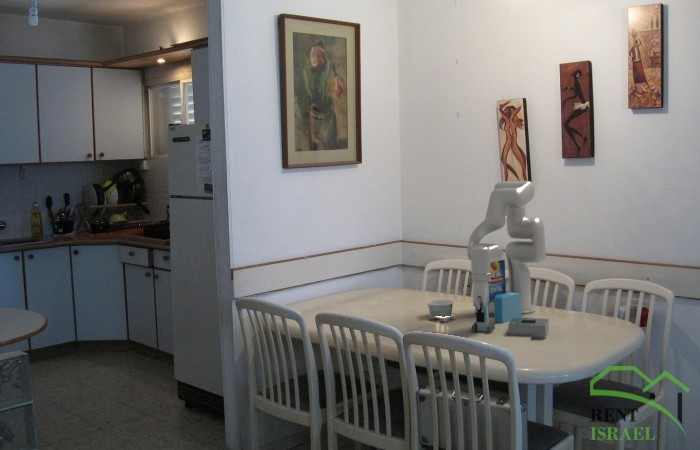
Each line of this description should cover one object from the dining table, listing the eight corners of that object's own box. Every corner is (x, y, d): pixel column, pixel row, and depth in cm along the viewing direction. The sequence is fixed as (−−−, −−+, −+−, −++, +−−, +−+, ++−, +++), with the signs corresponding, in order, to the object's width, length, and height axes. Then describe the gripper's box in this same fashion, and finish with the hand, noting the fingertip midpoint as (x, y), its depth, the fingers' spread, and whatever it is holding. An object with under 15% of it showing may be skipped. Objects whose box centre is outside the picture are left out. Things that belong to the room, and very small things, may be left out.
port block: (513, 329, 295) (512, 316, 295) (548, 331, 290) (548, 317, 290) (508, 337, 284) (508, 323, 284) (545, 338, 279) (545, 324, 278)
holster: (475, 329, 300) (475, 320, 299) (495, 329, 297) (495, 321, 296) (471, 335, 290) (470, 326, 290) (491, 335, 288) (490, 327, 287)
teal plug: (479, 328, 296) (478, 302, 295) (489, 329, 295) (488, 302, 294) (477, 331, 292) (476, 304, 291) (487, 331, 291) (486, 304, 290)
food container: (423, 318, 324) (422, 304, 323) (433, 312, 334) (432, 298, 334) (448, 320, 318) (448, 305, 318) (458, 314, 329) (457, 300, 328)
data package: (513, 319, 314) (512, 291, 313) (521, 320, 310) (521, 292, 309) (494, 324, 307) (493, 295, 306) (502, 325, 303) (501, 297, 302)
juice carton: (486, 317, 320) (484, 263, 318) (475, 314, 326) (473, 261, 324) (506, 312, 326) (504, 259, 324) (495, 310, 333) (493, 258, 330)
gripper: (476, 273, 301) (477, 314, 302) (467, 281, 285) (469, 324, 286) (494, 273, 298) (495, 314, 300) (486, 281, 282) (488, 324, 284)
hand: (482, 319), depth 293 cm, fingers open, 9 cm apart
